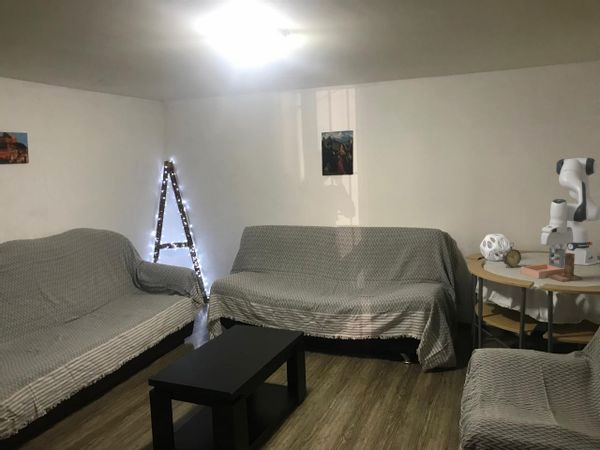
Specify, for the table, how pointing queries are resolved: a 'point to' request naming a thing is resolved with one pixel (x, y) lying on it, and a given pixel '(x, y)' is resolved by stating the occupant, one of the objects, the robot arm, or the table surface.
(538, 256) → the table surface
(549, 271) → the dish
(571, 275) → the stand
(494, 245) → the decorative ball
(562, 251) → the grey rectangular frame
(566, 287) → the table surface
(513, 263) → the alarm clock
